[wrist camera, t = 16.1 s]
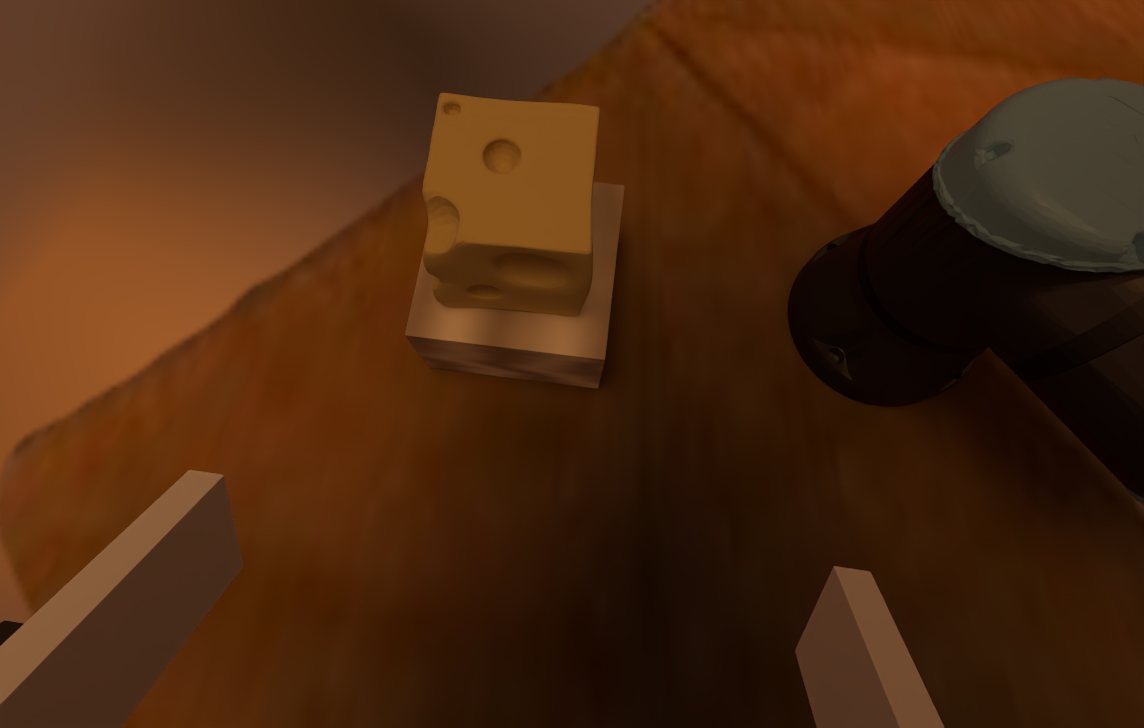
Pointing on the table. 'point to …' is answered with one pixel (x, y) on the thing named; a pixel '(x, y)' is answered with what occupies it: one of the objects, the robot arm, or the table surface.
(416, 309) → the chevron patterned block
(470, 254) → the cheese
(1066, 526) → the table surface
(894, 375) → the robot arm
